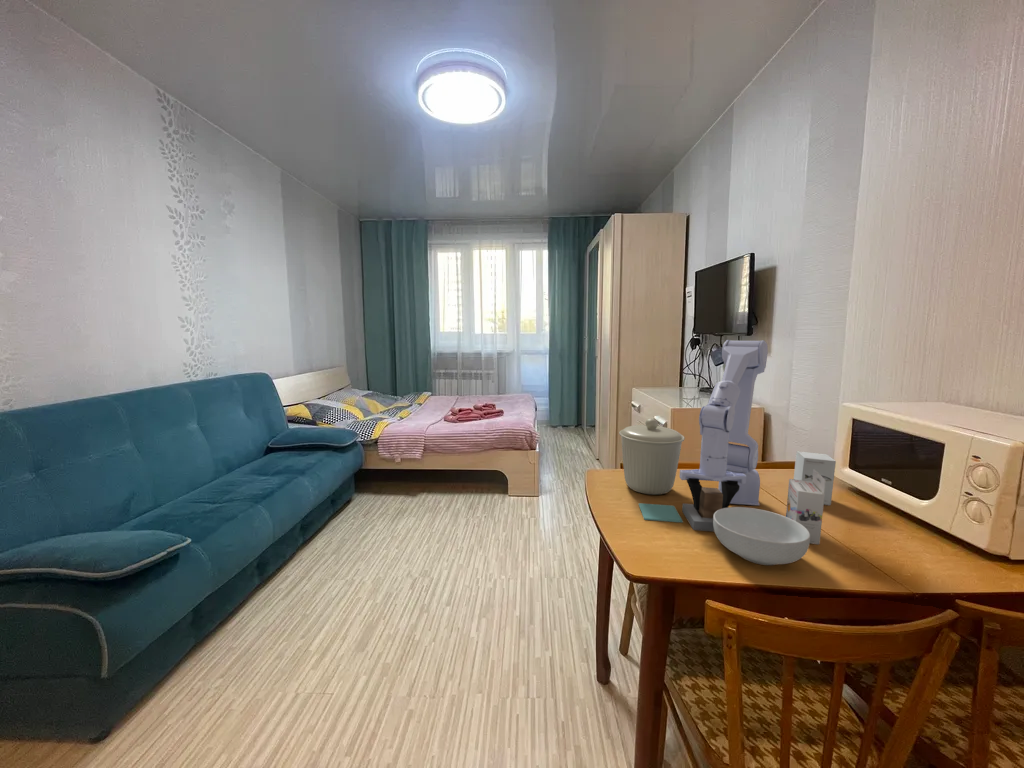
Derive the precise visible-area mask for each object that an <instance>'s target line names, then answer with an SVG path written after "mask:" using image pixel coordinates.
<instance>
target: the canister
mask: <svg viewBox="0 0 1024 768" xmlns="http://www.w3.org/2000/svg"><path fill="white" fill-rule="evenodd" d="M644 422H645V424H638V425H637V424H635V425H630V426H629V425H628V426H626V427H624V428H623V429H620V431H619V433H618V434H619V436H620V437H621V451H622V452H621V453H622V464H623V466H622V467H623V473H624V474H623V475H624V481H625V484H626V485H627V487H629V489H631V490H633V491H635V492H637V493H641V494H645V495H651V496H652V495H654V496H655V495H656V496H657V495H658V496H659V495H664V494H667V493H669V492H670V491H671V490H672V489H673V487H674V485H675V480H676V476H677V472H678V466H679V461H680V460H679V459H680V454H681V450H682V443H683V442H684V441H685V439H686V437H685V436H684V435H683V434H681V433H680V431H679V432H678V431H677V430H675V429H672V428H670V427H666V426H659V422H658V420H657V419H655V418H648V419H646V421H644Z"/></svg>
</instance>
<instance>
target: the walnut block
mask: <svg viewBox="0 0 1024 768" xmlns="http://www.w3.org/2000/svg"><path fill="white" fill-rule="evenodd" d="M718 488H719V487H718ZM718 488H717V487H705V486H702V489H701V494H700V508H699V510H698V514H699V515H700V516H701V517H702V518H713V515H714V513H715V512H716V511H717V510H719V509H722V503H723V494H722V493H721V492H720V491H719V489H718Z"/></svg>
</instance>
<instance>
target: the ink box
mask: <svg viewBox="0 0 1024 768" xmlns="http://www.w3.org/2000/svg"><path fill="white" fill-rule="evenodd" d="M817 478H819V480H820V481H821V484H820V482H819V481H818V480H817ZM825 483H826V480H825V479H824V478H823V477H822V476H821V475H820V474H819V473H818V472H817V471H816V470H815V469H813V480H812V482H811V481H803V480H795V479H794V478H789V479H788V489H787V490H788V491H787V500H786V512H785V517H788V518H790V519H792V520H794V521H796V522H798V523H800V524H801V525H803V526H804V527H805V528H806V529H807V530H808V531H809V533H810V543H809V544H812V545H820V544H821V535H822V534H821V533H822V532H821V531H822V523H823V514H824V493H825Z"/></svg>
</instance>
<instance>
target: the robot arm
mask: <svg viewBox="0 0 1024 768" xmlns="http://www.w3.org/2000/svg"><path fill="white" fill-rule="evenodd" d="M768 347H769V346H768V343H767V342H766V340H763V339H762V340H737V339H736V340H731V339H726V340H725V341H724V342H723V345H722V347H721V358H722V360H723V364H724V365H725V367H724V371H723V374H722V378H721V381H718V382H716V383H715V385H714V387H713V389H712V392H711V394H710V398H709V400H708V402H707V404H706V405H703V406H701V409H700V411H699V417H698V423H699V435H700V436H701V443H700V444H701V445H700V446H701V447H700V458H699V459H700V460H699V468H698V469H697V468H695V469H679V479H680V480H681V481H686V483H687V485H688V488H689V491H690V492H691V493H690V494H691V497H692V502H693V503H692V504H694V508H695V509H696V510H699V508H700V494H701V489H702V487H703V486H702V484H701V481H706V482H708V481H709V482H718V489H719V491H720V492H721V493H722V494H723V503H722V509H723V508H728V507H730V504H732V505H745V506H746V505H747V506H760V505H761V504H760V502H759V501H760V499H759V497H760V489H761V487H760V486H761V478H760V473H759V471H758V470H756V468H757V465H758V460H759V444H758V442H757V440H755V439H754V438H753V437H752V436H751V435H750V434H749V427H750V421H751V412H752V405H753V398H754V391H755V383H756V380H757V376H758V375H760V374H762V373H765V370H766V367H767V362H768V361H767V360H768V351H769V350H768ZM733 443H734V444H733ZM741 444H742V445H741Z"/></svg>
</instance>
